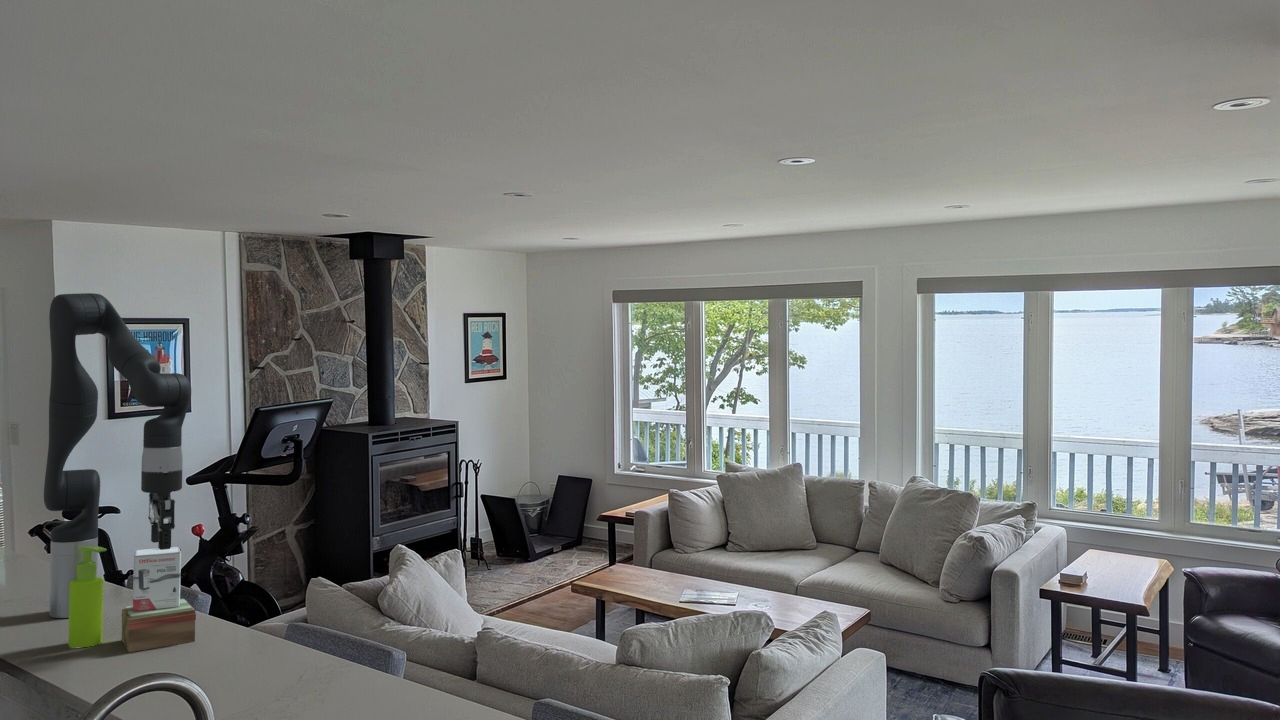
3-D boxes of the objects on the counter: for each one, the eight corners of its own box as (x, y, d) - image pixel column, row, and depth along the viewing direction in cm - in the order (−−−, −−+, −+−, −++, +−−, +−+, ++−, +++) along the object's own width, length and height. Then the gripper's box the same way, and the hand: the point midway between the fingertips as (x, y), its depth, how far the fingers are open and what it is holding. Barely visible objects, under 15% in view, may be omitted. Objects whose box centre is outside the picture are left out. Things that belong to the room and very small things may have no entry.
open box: (121, 640, 180) (122, 606, 180) (185, 629, 187) (185, 597, 188) (129, 653, 172) (129, 617, 172) (195, 641, 179) (195, 608, 179)
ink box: (132, 612, 175) (133, 554, 176) (132, 607, 180) (133, 549, 180) (180, 607, 180) (181, 550, 180) (179, 601, 184) (180, 546, 184)
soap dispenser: (90, 649, 174) (91, 550, 174) (61, 647, 175) (63, 548, 175) (113, 641, 179) (115, 544, 180) (85, 638, 181) (86, 543, 181)
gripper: (136, 466, 184) (134, 541, 184) (147, 473, 173) (146, 553, 172) (175, 463, 188) (174, 537, 188) (189, 470, 177) (187, 549, 177)
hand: (160, 545), depth 180 cm, fingers open, 8 cm apart
